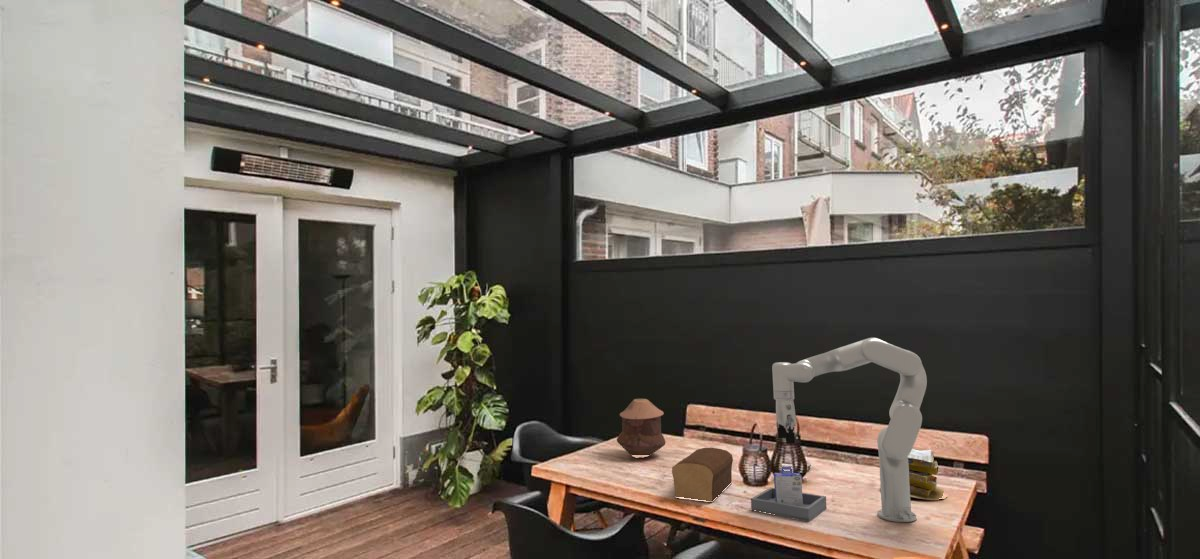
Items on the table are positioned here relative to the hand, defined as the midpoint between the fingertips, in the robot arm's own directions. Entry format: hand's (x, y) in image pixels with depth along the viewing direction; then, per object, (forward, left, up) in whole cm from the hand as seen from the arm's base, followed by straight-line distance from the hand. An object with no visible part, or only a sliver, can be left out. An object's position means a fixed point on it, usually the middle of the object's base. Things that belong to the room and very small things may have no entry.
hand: (786, 440), depth 234 cm
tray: (0, 0, -26) cm, 26 cm away
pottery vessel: (+93, +48, -26) cm, 108 cm away
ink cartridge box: (0, 0, -25) cm, 25 cm away
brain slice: (+58, -20, -26) cm, 67 cm away
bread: (+27, +27, -26) cm, 47 cm away
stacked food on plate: (+16, -56, -26) cm, 64 cm away
